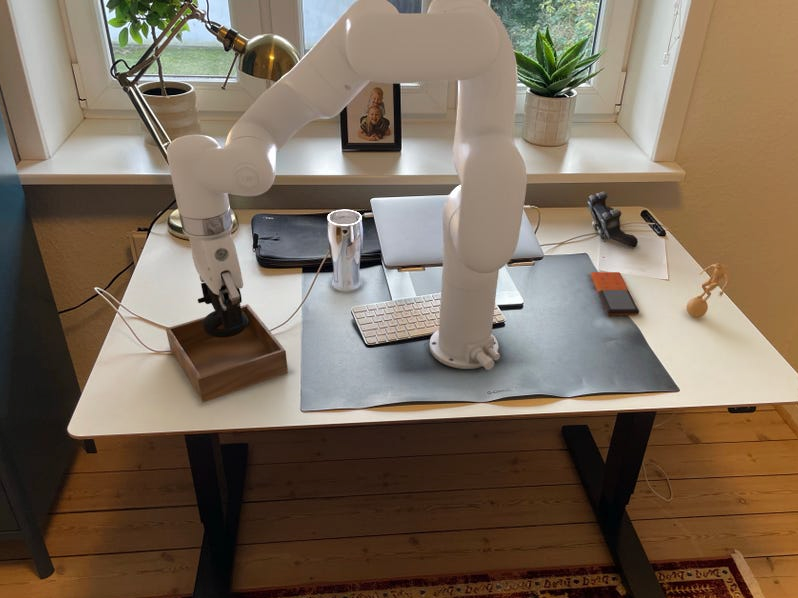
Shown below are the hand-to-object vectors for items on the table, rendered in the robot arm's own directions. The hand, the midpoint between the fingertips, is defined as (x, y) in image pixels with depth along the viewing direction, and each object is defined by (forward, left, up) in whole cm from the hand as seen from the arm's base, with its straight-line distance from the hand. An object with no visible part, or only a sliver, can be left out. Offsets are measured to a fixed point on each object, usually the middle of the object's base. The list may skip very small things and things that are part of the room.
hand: (223, 313), depth 125 cm
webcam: (0, 0, -3) cm, 3 cm away
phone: (-19, -75, -11) cm, 78 cm away
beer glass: (+12, -30, -11) cm, 34 cm away
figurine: (-33, -85, -11) cm, 91 cm away
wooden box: (0, 0, -10) cm, 10 cm away
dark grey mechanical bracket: (+1, -93, -11) cm, 93 cm away
